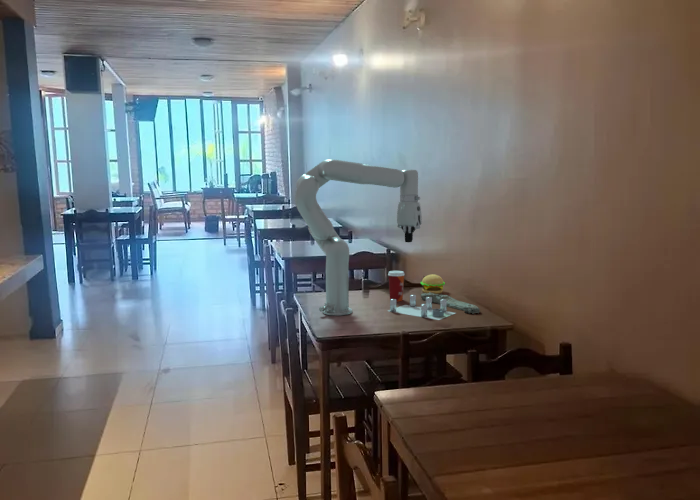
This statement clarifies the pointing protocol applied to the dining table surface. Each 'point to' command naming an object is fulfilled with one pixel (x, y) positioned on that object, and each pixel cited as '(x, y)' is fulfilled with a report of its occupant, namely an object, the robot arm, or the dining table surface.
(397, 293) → the paper cup
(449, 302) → the elongated rock
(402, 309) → the board
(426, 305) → the spacers
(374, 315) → the dining table surface
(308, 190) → the robot arm
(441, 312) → the grey faceted hexagonal block
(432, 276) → the hamburger
